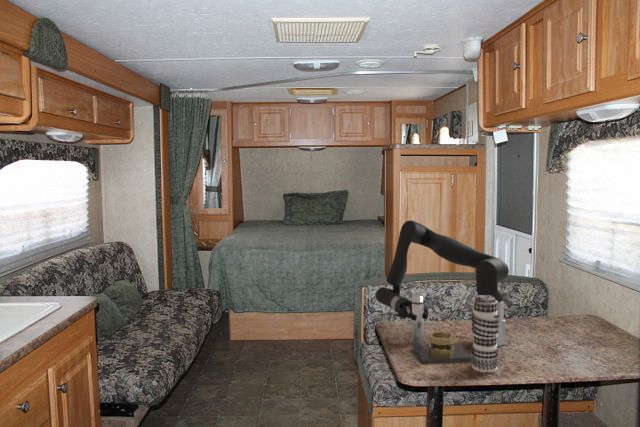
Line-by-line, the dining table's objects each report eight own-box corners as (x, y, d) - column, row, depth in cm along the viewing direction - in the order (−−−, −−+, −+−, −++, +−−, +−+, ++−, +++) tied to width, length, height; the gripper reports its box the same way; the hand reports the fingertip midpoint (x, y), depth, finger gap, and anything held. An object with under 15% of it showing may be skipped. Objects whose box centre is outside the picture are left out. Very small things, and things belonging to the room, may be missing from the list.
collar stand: (458, 347, 194) (458, 328, 193) (472, 361, 180) (472, 340, 179) (412, 349, 192) (412, 330, 192) (422, 363, 178) (422, 343, 178)
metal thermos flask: (421, 340, 202) (421, 294, 200) (424, 344, 198) (424, 296, 196) (410, 341, 202) (410, 294, 200) (413, 345, 197) (413, 297, 195)
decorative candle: (487, 360, 180) (488, 292, 178) (504, 370, 171) (505, 298, 169) (465, 364, 177) (465, 294, 175) (481, 374, 168) (482, 301, 166)
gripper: (386, 298, 210) (403, 309, 194) (418, 295, 214) (437, 306, 197) (386, 316, 211) (403, 328, 194) (418, 313, 214) (437, 325, 198)
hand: (420, 317), depth 196 cm, fingers closed on metal thermos flask, 4 cm apart
